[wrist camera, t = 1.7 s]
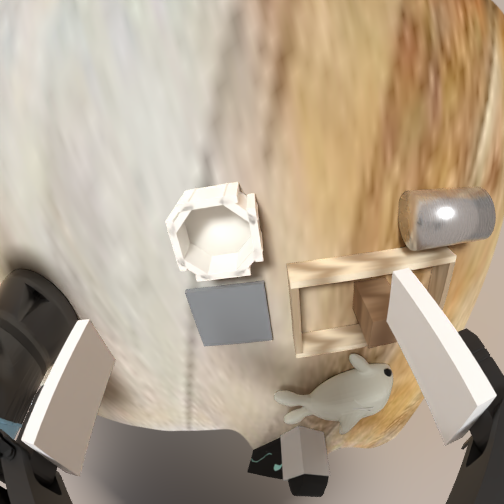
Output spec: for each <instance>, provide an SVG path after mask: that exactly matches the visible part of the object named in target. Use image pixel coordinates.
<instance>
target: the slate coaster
mask: <svg viewBox="0 0 504 504" xmlns="http://www.w3.org/2000/svg"><path fill="white" fill-rule="evenodd" d="M185 294H186V297H187V300H188V303H189V306H190V308H191V311H192V314H193V317H194V320H195V323H196V325H197V328H198V331H199V334H200V336H201V339H202V342H203V344H204V346H215V345H227V344H239V343H250V342H259V341H268V340H273V339H272V331H271V325H270V318H269V312H268V305H267V299H266V292H265V286H264V281H256V282H248V283H240V284H232V285H223V286H214V287H205V288H196V289H187V290H186V291H185Z"/></svg>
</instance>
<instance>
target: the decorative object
mask: <svg viewBox="0 0 504 504" xmlns="http://www.w3.org/2000/svg"><path fill="white" fill-rule="evenodd" d="M248 472H249V473H253V474H258V475H262V476H267V477H272V478H278V479H283V480H285V481H288V482H289V486H290V490H291V492H292V494H293V495H294V496H311V497H321V496H322V495H323V494H324V491H325V488H326V486H327V482H328V477H329V476H330V469H329V462H328V456H327V449H326V443H325V437H324V432H321V431H317V430H314V429H310V428H306V427H302V426H297V427H295V428H293V429H291V430H290V431H288V432H286V433H284V434H282V435H280V438H279V439H277V440H274V441H272V442H270V443H268V444H266V445H264V446H262V447H259V448H257V449H255V450H253V454H252V457H251V461H250V465H249V469H248Z"/></svg>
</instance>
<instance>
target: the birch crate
mask: <svg viewBox="0 0 504 504" xmlns="http://www.w3.org/2000/svg"><path fill="white" fill-rule="evenodd" d="M455 260H456V255H455V254H454V253H453V252H452V251H451V250H450V249H449V248H448V247H447V246H443V247H437V248H431V249H424V250H418V251H412V250H410V249H409V248H408V247H403V248H396V249H389V250H382V251H375V252H368V253H361V254H354V255H347V256H340V257H333V258H326V259H318V260H311V261H304V262H296V263H288V264H287V273H288V284H289V294H290V305H291V316H292V328H293V339H294V346H295V353H296V358H302V357H309V356H315V355H322V354H328V353H334V352H340V351H345V350H351V349H356V348H361V347H366V346H368V345H367V343H366V340H365V337H364V335H363V332H362V330H361V327H360V325H359V324H355V325H349V326H343V327H337V328H331V329H325V330H319V331H312V332H305V333H302V332H301V315H300V300H299V288H302V287H309V286H316V285H323V284H330V283H337V282H343V281H350V280H356V279H362V278H369V277H375V276H381V275H387V274H393V271H396V270H401V269H405V268H409V269H410V270H415V269H421V268H426V267H431V266H433V267H432V272H431V277H430V282H429V286H428V293H429V294H430V295H431V297H432V298H433V299H434V300H435V302H436V303H437V304H438V306H439V307H440V309H441V310H443V307H444V303H445V300H446V296H447V293H448V289H449V285H450V281H451V278H452V273H453V269H454V265H455Z"/></svg>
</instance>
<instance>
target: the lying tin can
mask: <svg viewBox="0 0 504 504" xmlns="http://www.w3.org/2000/svg"><path fill="white" fill-rule="evenodd" d="M495 218H496V217H495V208H494V204H493V201H492V199H491V197H490V195H489V194H488V192H487V191H486V190H485V189H483V188H481V187H461V188H442V189H427V190H413V191H405V192H404V193H403V194H402V195H401V198H400V200H399V209H398V221H399V228H400V232H401V235H402V238H403V241H404V243H405V244H406V246H407V247H408V248H409V249H410V250H412V251H418V250H424V249H431V248H437V247H443V246H449V245H455V244H461V243H467V242H472V241H478V240H484V239H487V238H488V237H489V236H490V235H491V233H492V232H493V229H494V226H495Z"/></svg>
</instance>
